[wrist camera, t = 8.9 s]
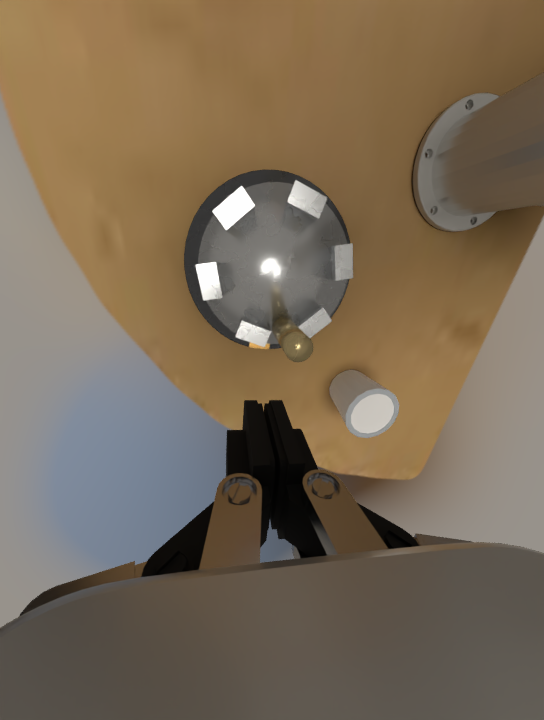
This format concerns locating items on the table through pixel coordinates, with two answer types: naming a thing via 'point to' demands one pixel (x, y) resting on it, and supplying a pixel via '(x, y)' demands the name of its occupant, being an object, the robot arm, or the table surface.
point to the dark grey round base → (204, 218)
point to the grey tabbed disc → (275, 265)
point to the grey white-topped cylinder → (363, 403)
